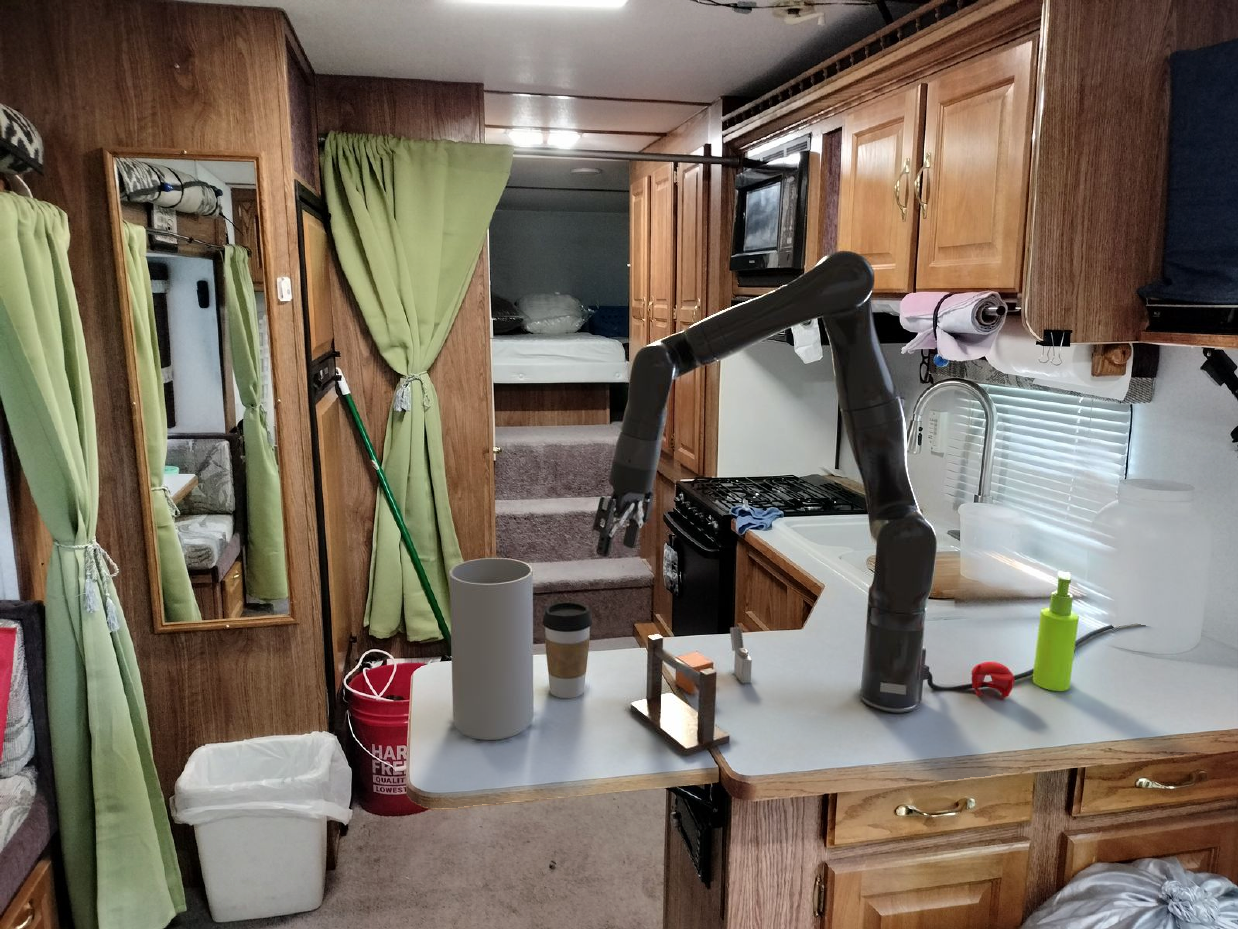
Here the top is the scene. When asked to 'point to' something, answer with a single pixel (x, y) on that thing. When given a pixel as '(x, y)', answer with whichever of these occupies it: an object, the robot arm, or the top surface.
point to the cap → (993, 677)
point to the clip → (694, 662)
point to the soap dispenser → (1056, 639)
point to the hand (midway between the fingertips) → (615, 550)
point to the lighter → (740, 656)
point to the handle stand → (679, 704)
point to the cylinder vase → (492, 647)
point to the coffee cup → (567, 647)
